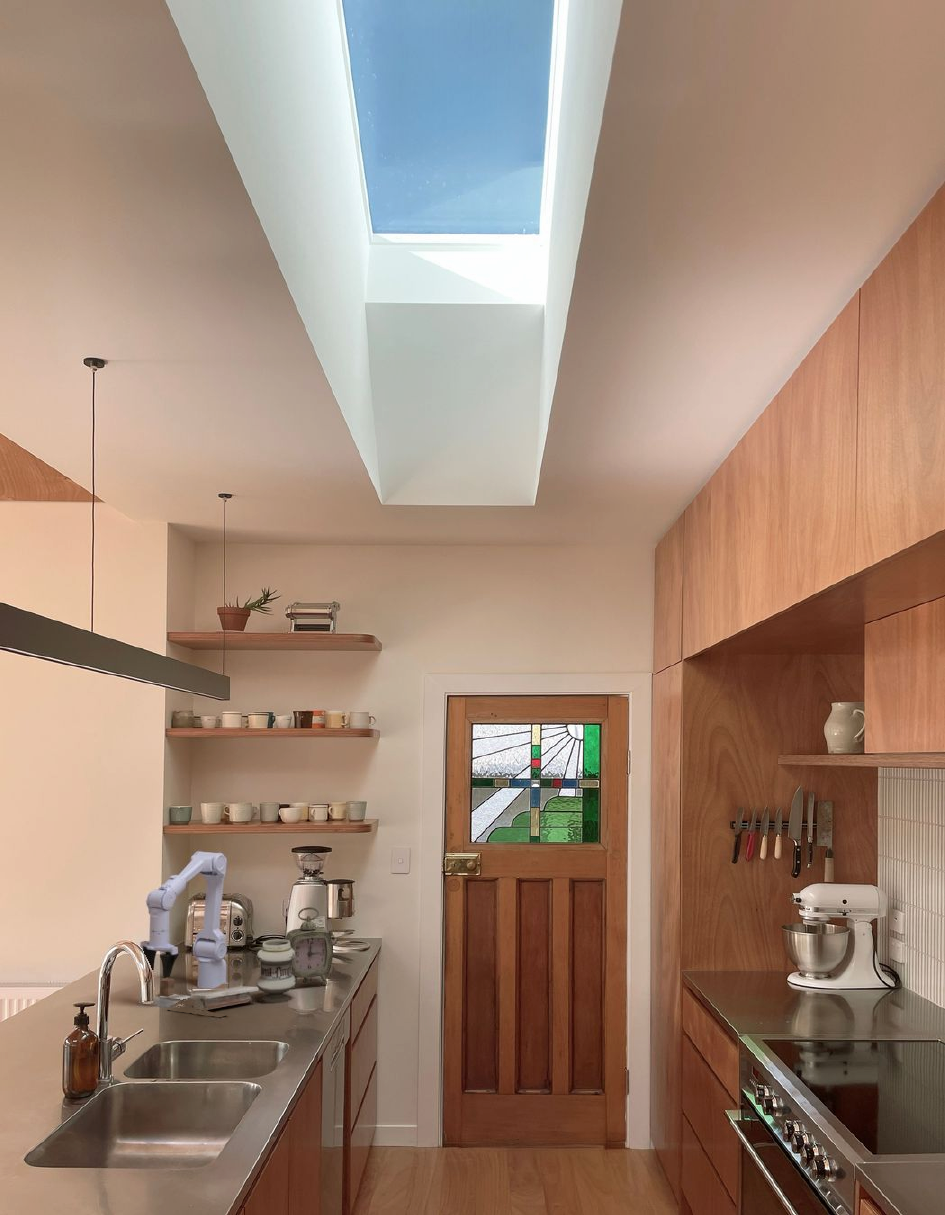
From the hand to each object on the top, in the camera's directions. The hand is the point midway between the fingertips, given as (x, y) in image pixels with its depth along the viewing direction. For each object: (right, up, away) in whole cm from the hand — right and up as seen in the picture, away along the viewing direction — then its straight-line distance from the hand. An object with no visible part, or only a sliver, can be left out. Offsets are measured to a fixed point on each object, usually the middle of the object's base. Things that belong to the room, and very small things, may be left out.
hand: (158, 975), depth 327 cm
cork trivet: (+14, -9, -6) cm, 18 cm away
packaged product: (+18, -8, +2) cm, 19 cm away
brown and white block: (+3, -10, +9) cm, 14 cm away
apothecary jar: (+35, -10, +6) cm, 37 cm away
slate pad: (0, -9, +2) cm, 10 cm away
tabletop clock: (+42, -12, +25) cm, 50 cm away
